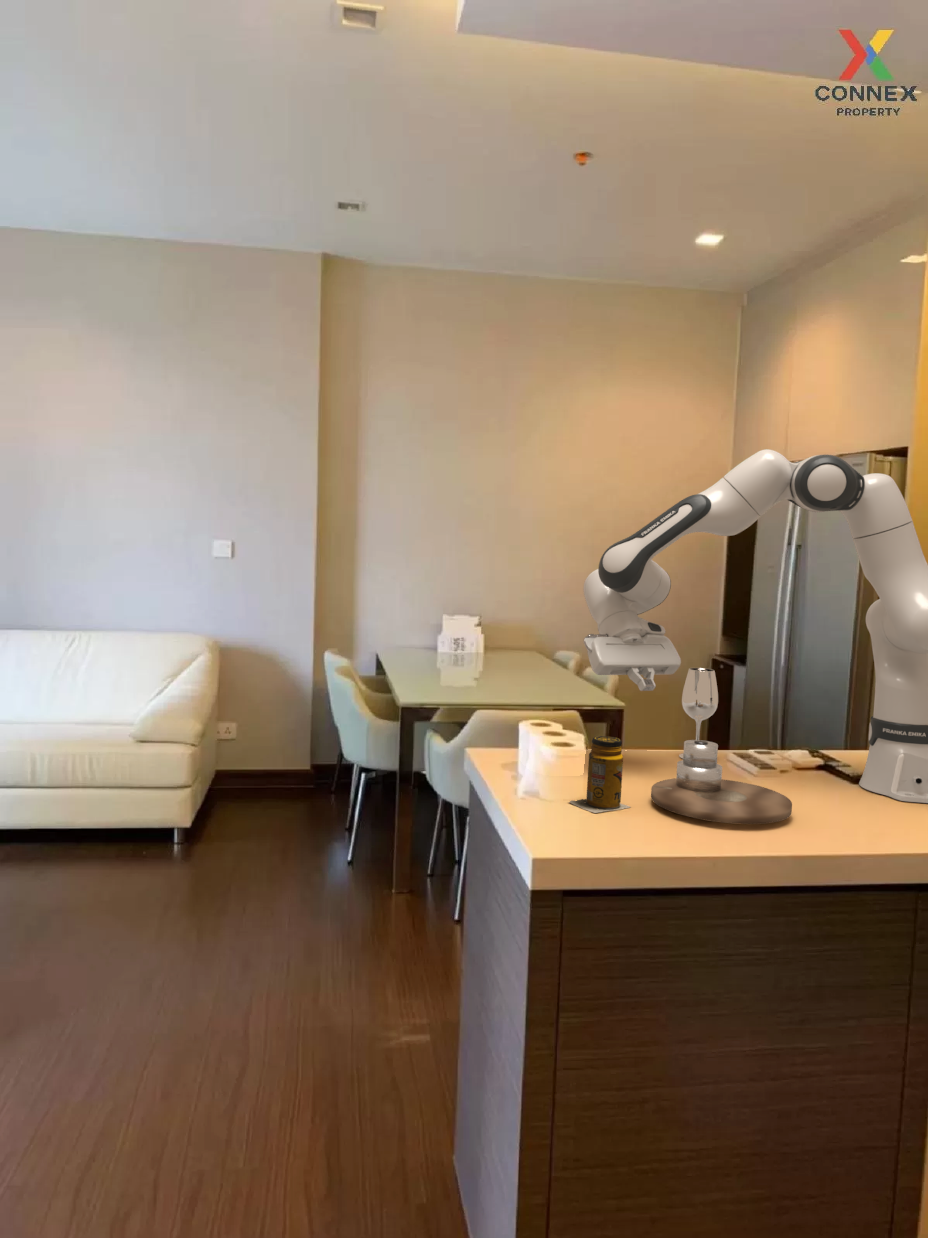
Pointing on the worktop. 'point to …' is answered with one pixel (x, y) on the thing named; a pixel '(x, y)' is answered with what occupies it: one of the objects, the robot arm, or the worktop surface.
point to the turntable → (724, 802)
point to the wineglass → (700, 696)
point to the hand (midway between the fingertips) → (648, 689)
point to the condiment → (604, 776)
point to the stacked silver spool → (699, 767)
